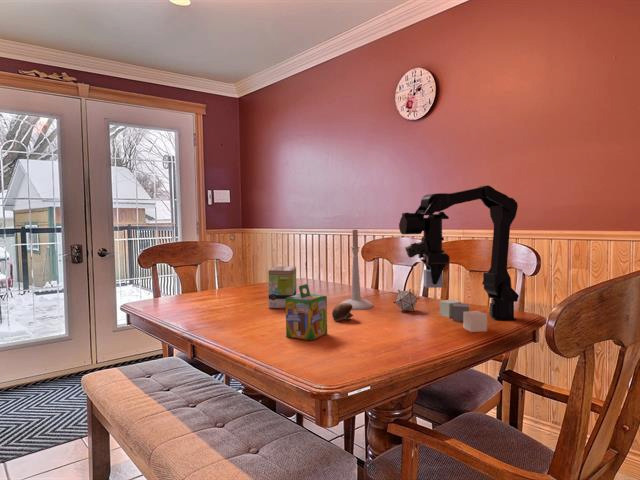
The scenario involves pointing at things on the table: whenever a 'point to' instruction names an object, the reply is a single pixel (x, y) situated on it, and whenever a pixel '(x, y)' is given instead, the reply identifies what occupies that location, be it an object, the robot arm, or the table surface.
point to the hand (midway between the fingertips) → (433, 283)
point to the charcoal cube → (459, 311)
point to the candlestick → (356, 280)
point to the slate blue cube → (428, 280)
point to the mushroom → (342, 311)
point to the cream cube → (475, 321)
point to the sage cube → (447, 308)
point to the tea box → (281, 285)
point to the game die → (406, 300)
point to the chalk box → (306, 315)
